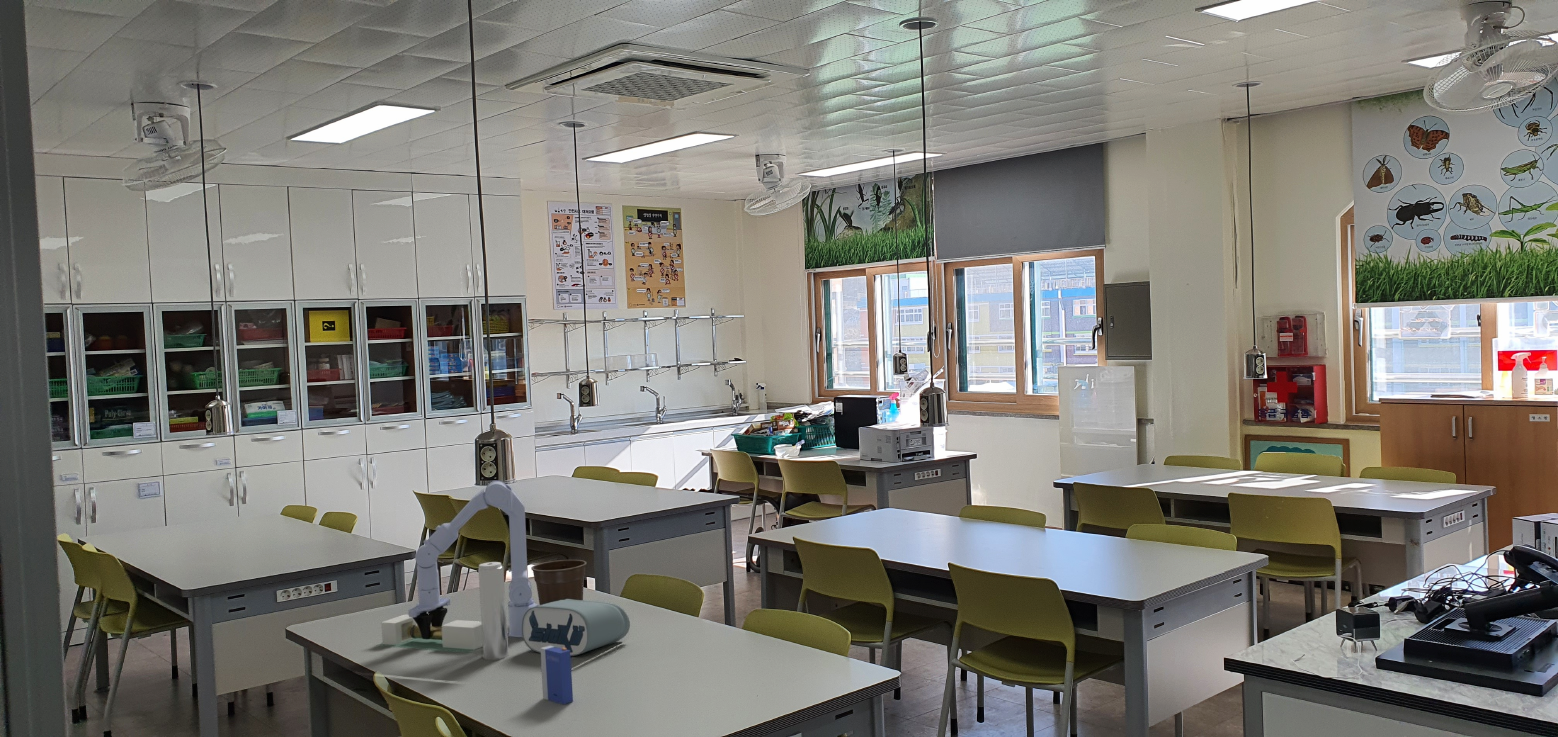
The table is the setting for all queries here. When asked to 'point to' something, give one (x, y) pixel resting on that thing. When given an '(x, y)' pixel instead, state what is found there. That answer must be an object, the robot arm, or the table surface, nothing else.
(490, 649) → the white tall cylinder
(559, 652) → the walkman
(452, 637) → the sleeve
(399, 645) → the mat
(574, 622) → the pencil case
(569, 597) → the plant pot
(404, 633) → the socket
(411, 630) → the tube
